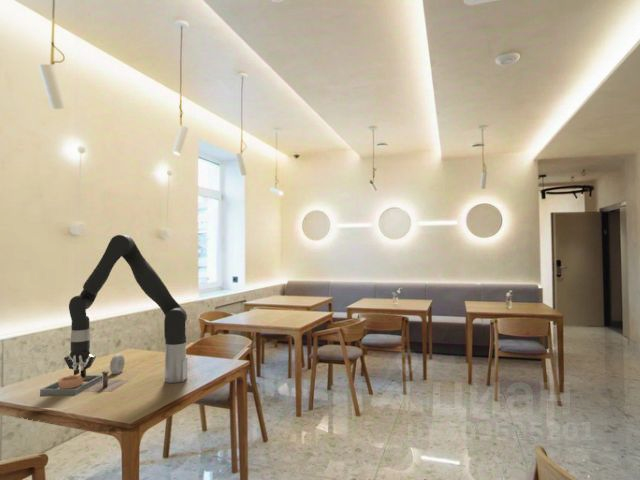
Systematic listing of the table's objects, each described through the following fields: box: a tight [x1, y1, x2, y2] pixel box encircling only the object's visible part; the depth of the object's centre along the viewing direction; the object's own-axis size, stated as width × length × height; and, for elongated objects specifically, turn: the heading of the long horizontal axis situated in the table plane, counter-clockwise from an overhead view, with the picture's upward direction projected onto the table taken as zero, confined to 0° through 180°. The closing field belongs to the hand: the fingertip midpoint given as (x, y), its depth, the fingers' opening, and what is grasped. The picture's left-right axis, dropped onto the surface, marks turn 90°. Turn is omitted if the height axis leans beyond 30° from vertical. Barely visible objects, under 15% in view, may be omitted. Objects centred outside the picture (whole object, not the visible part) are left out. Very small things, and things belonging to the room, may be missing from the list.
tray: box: [39, 374, 103, 398], centre depth 178 cm, size 15×20×3 cm
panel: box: [83, 370, 130, 393], centre depth 180 cm, size 12×16×8 cm
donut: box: [109, 353, 126, 375], centre depth 200 cm, size 10×4×10 cm, turn 177°
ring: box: [57, 372, 85, 389], centre depth 179 cm, size 8×13×3 cm, turn 179°
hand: (79, 378), depth 183 cm, fingers closed on ring, 2 cm apart
